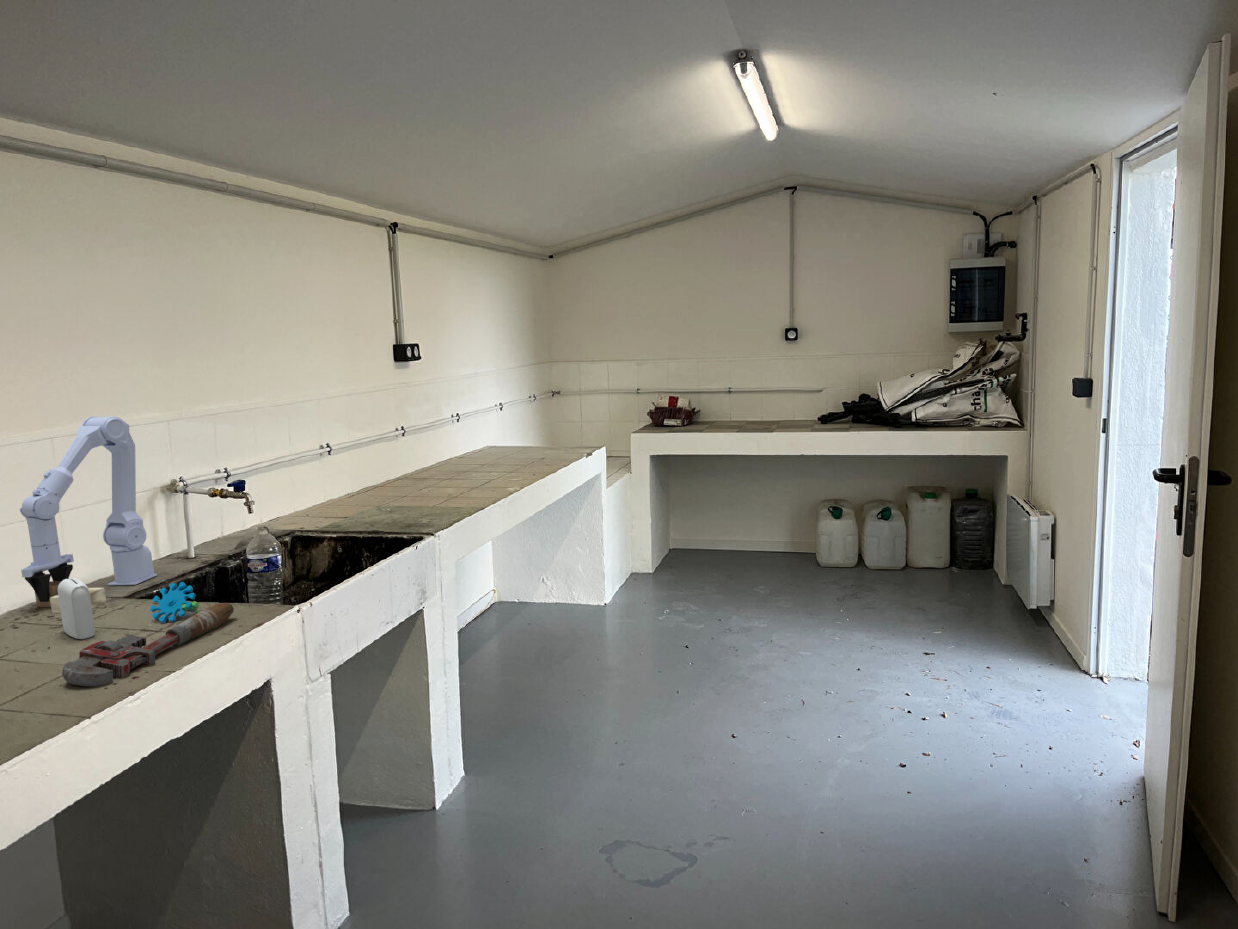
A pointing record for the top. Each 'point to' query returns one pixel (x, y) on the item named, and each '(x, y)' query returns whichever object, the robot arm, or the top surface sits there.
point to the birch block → (95, 595)
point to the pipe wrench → (137, 649)
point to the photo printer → (76, 608)
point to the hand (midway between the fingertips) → (53, 598)
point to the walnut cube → (52, 591)
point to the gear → (174, 603)
